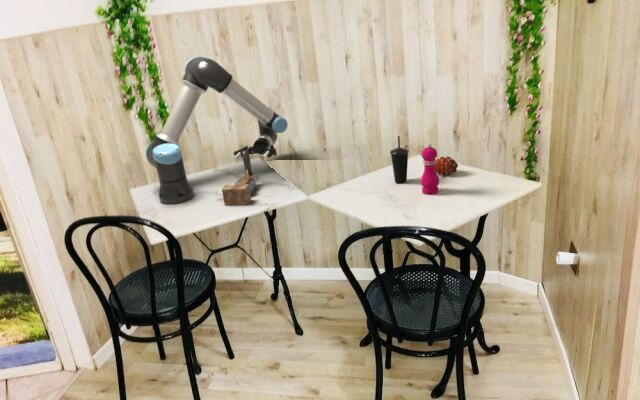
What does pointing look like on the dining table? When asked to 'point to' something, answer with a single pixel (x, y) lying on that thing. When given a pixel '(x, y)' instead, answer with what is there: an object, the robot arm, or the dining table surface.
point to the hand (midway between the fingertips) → (250, 159)
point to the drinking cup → (399, 163)
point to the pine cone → (445, 166)
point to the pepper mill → (429, 171)
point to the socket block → (236, 194)
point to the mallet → (246, 169)
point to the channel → (250, 185)
